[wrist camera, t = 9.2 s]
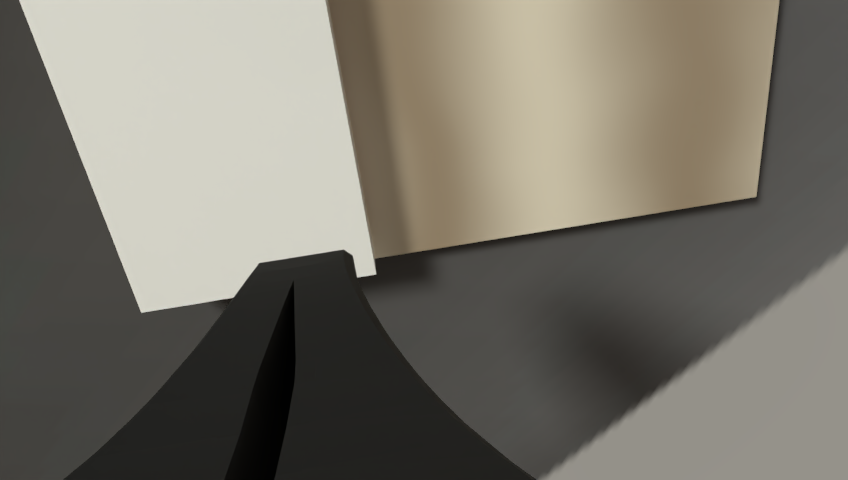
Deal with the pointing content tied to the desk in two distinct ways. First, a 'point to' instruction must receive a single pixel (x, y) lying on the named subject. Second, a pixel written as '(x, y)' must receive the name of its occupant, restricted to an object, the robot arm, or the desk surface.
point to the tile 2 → (208, 136)
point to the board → (549, 111)
